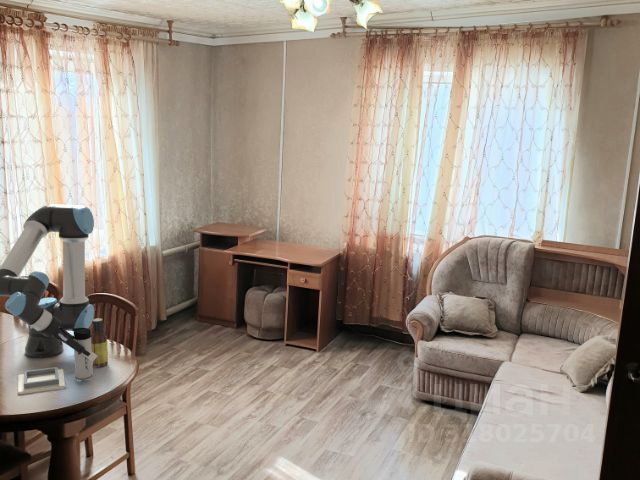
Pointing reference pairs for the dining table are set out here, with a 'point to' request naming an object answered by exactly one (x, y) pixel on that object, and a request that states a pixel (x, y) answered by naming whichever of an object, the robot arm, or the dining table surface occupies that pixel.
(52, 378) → the mug tray
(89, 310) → the robot arm
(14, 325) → the dining table surface
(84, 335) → the travel mug
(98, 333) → the sauce bottle
